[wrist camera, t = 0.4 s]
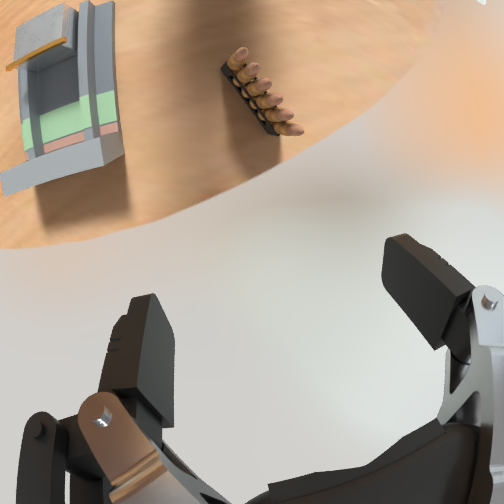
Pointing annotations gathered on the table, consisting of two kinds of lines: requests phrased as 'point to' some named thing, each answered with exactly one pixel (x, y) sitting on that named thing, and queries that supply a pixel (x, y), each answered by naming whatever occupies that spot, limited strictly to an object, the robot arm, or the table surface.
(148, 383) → the robot arm
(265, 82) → the ammunition clip
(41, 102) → the base
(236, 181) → the table surface
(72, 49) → the plunger
